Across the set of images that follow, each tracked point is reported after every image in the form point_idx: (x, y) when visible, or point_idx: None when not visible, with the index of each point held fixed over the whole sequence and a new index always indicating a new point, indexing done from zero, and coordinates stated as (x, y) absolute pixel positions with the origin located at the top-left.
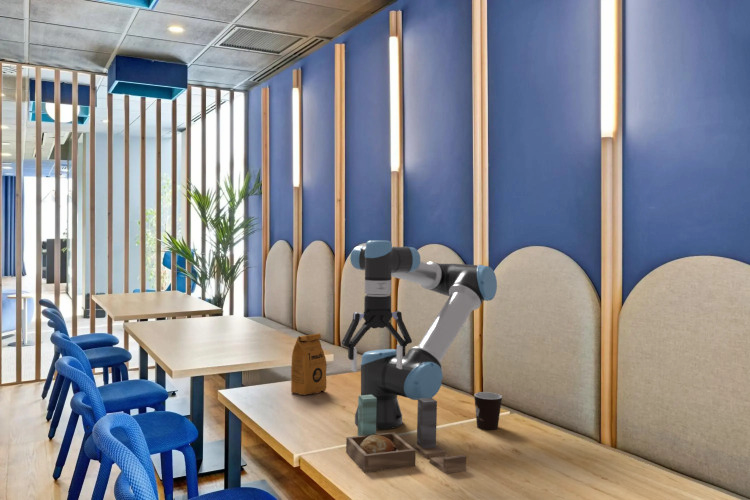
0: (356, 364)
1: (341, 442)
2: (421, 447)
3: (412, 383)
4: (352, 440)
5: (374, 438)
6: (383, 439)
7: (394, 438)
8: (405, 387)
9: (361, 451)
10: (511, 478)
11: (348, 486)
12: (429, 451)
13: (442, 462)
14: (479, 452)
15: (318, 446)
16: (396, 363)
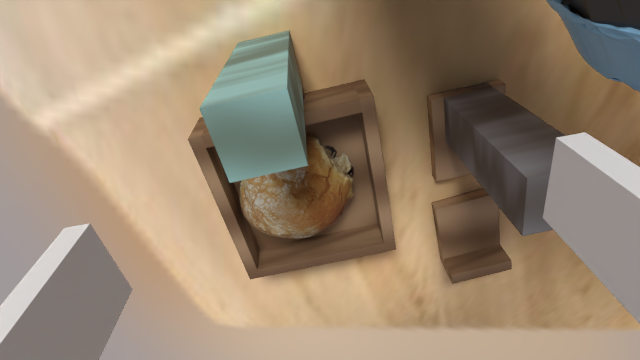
0: (102, 349)
1: (173, 11)
2: (445, 132)
3: (607, 70)
4: (212, 172)
5: (283, 224)
6: (312, 226)
7: (364, 132)
8: (555, 9)
9: (241, 254)
10: (563, 280)
11: (218, 303)
12: (455, 165)
13: (454, 235)
14: (605, 140)
15: (89, 52)
16: (581, 160)
